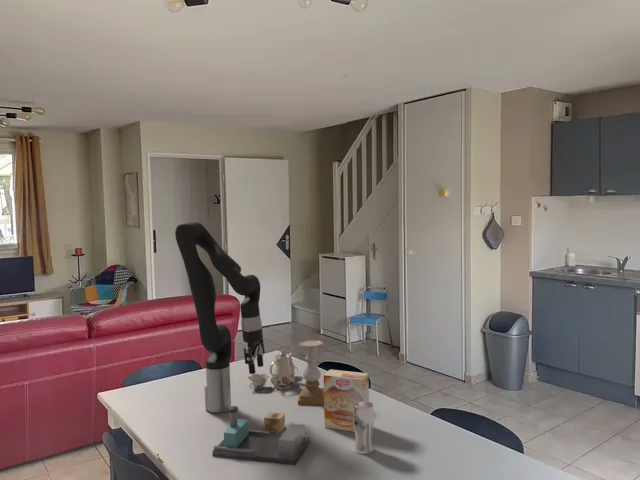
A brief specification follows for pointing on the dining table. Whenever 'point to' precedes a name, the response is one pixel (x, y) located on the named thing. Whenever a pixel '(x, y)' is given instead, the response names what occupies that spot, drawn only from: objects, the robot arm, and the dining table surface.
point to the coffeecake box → (343, 397)
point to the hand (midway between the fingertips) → (256, 370)
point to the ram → (235, 429)
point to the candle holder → (311, 375)
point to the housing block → (274, 422)
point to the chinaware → (277, 373)
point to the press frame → (269, 446)
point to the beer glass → (363, 426)
